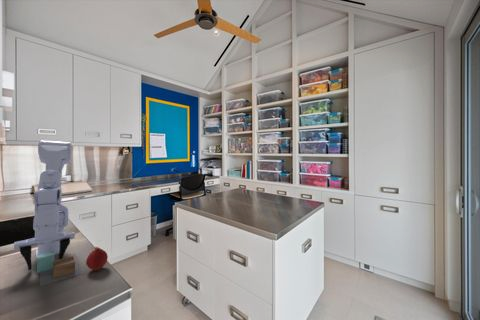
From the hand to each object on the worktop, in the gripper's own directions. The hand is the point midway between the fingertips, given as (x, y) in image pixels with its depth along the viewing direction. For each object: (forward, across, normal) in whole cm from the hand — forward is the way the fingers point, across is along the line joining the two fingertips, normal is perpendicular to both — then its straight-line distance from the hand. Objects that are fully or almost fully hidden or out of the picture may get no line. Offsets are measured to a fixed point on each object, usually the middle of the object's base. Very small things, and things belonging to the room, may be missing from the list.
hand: (45, 265), depth 68 cm
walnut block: (+1, +4, -7) cm, 8 cm away
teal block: (+2, 0, 0) cm, 2 cm away
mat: (+1, +4, -7) cm, 8 cm away
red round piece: (+2, +12, -12) cm, 17 cm away
